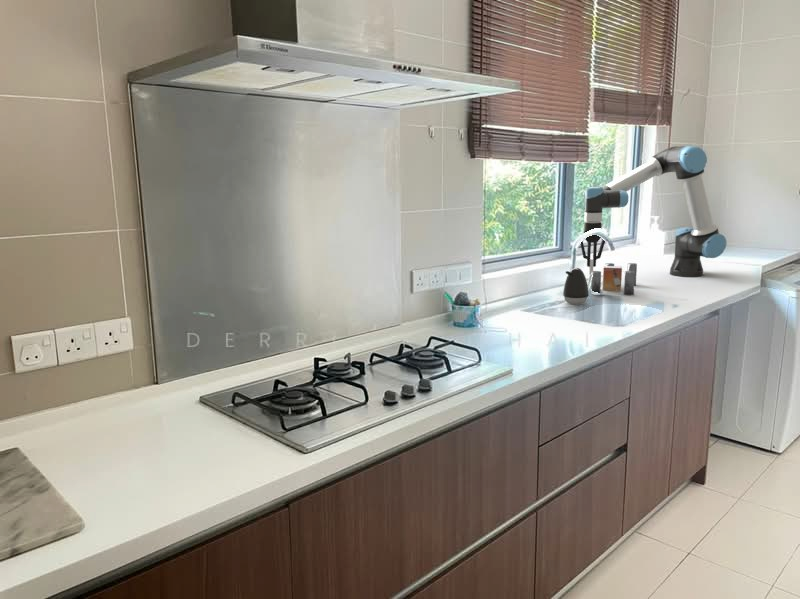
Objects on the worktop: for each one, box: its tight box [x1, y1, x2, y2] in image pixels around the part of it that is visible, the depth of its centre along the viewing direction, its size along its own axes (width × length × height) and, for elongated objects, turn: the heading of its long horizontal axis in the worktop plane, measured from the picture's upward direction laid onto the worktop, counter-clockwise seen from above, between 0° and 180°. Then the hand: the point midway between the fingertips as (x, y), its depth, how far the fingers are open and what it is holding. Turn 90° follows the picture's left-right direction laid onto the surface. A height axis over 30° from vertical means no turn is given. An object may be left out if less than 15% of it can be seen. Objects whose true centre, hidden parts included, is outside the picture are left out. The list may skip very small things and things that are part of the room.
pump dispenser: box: [562, 267, 590, 306], centre depth 265 cm, size 10×10×15 cm
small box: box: [602, 265, 623, 292], centre depth 290 cm, size 8×6×10 cm
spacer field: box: [590, 262, 638, 296], centre depth 289 cm, size 22×24×10 cm
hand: (591, 273), depth 291 cm, fingers closed
